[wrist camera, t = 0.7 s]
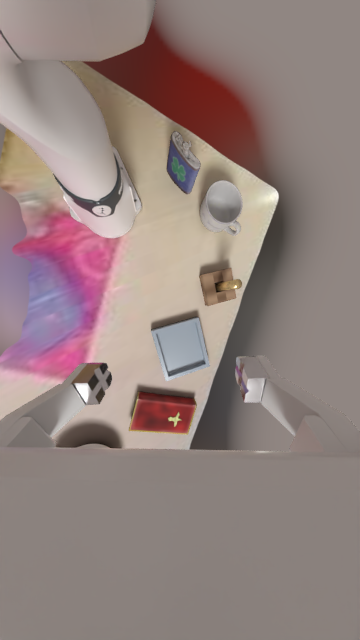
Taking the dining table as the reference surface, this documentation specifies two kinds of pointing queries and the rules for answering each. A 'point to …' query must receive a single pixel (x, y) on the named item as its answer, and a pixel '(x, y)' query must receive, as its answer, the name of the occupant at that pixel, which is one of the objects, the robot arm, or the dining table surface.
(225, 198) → the teacup
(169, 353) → the tray
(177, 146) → the flask
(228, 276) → the pin block
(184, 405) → the hardcover book
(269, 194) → the dining table surface
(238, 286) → the pin
